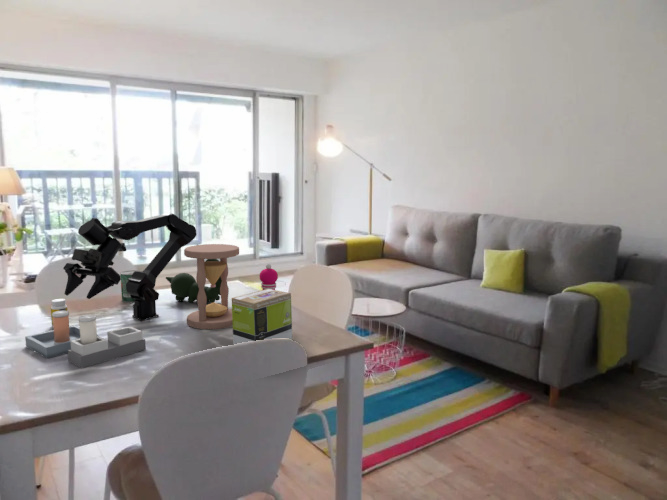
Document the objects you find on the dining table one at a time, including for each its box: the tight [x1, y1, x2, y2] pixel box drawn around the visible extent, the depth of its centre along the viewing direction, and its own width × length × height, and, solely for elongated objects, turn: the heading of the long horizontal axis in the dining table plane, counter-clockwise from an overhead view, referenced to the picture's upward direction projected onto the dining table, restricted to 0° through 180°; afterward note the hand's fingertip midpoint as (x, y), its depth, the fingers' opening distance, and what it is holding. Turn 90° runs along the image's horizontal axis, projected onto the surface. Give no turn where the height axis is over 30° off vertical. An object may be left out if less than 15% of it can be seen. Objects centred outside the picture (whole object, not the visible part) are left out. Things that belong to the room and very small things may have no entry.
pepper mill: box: [259, 263, 279, 290], centre depth 168 cm, size 7×7×20 cm
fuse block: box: [67, 326, 147, 369], centre depth 139 cm, size 18×7×6 cm, turn 141°
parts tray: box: [24, 325, 99, 359], centre depth 146 cm, size 14×14×3 cm
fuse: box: [77, 314, 98, 345], centre depth 134 cm, size 4×4×9 cm
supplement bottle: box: [50, 298, 69, 327], centre depth 164 cm, size 5×5×8 cm
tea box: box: [231, 289, 293, 345], centre depth 149 cm, size 15×10×15 cm, turn 141°
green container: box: [119, 270, 143, 304], centre depth 196 cm, size 8×8×11 cm
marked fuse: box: [52, 310, 71, 344], centre depth 145 cm, size 4×4×9 cm
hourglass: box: [183, 243, 240, 330], centre depth 169 cm, size 18×18×25 cm
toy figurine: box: [165, 259, 222, 304], centre depth 193 cm, size 9×19×25 cm
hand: (76, 296), depth 152 cm, fingers open, 9 cm apart
